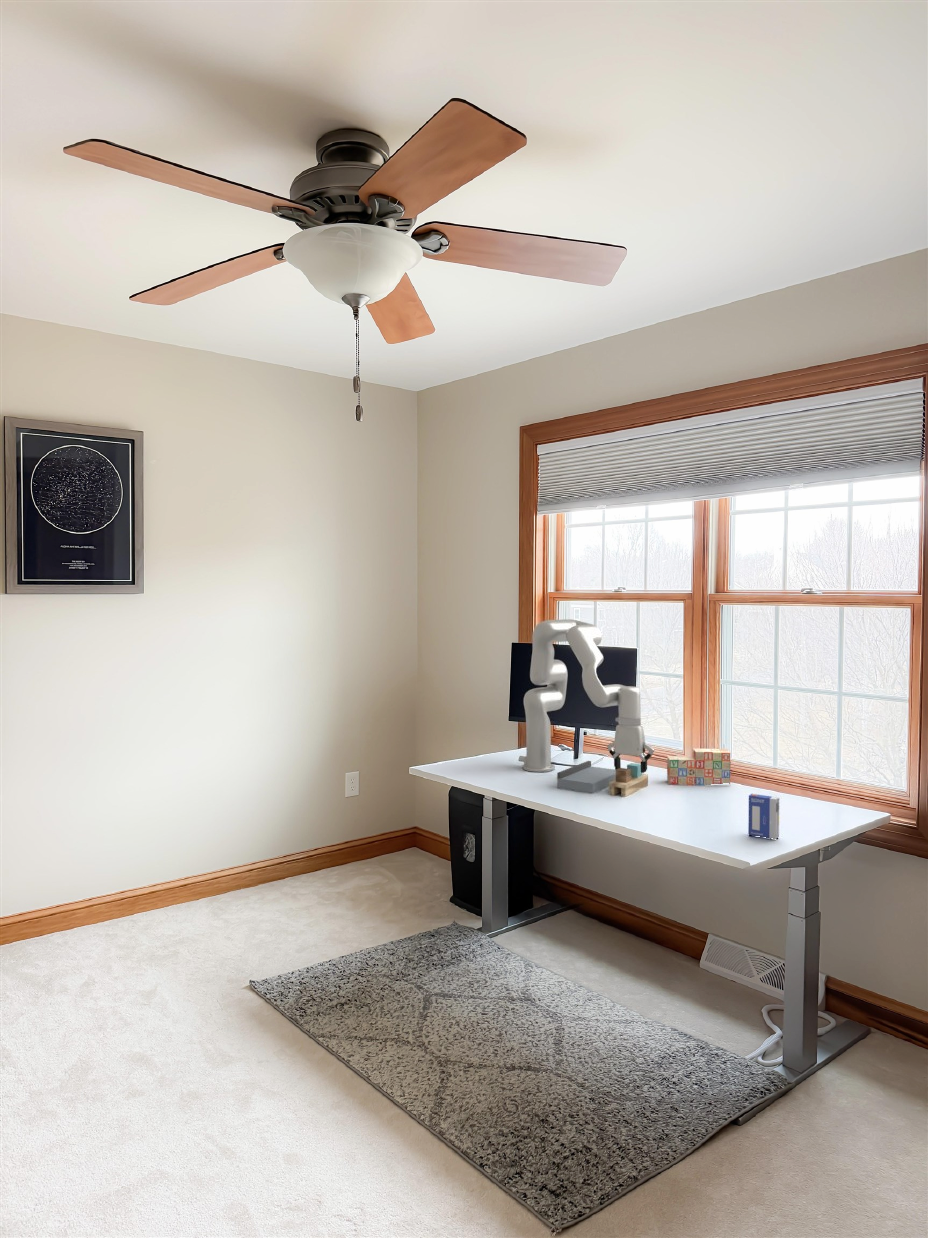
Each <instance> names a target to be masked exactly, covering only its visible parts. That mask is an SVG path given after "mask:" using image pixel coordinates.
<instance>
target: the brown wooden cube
mask: <svg viewBox="0 0 928 1238" xmlns="http://www.w3.org/2000/svg"><path fill="white" fill-rule="evenodd" d="M630 781H631V769H627V767H621V768H619V769H617V770H616V782H623V783H627V782H630Z"/></svg>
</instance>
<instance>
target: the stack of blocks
mask: <svg viewBox="0 0 928 1238" xmlns="http://www.w3.org/2000/svg"><path fill="white" fill-rule="evenodd" d="M691 752H692V753H691V755H692V756H677V755H675V756H674V755H667V758H666V759H667V760H666V761H667V762H666V763H667V764H666V777H667V778H666V781H667V782H668V785H670V786H671V785H673V786H675V785H676V786H705V785H711V784H723V783H729V784H730V785H731V766H732V763H731V762H732V761H731V752H730V751H729V750H728V749H724V748H723V749H720V748H692V751H691Z"/></svg>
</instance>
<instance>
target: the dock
mask: <svg viewBox="0 0 928 1238" xmlns="http://www.w3.org/2000/svg"><path fill="white" fill-rule="evenodd" d="M556 780H557V781H556V782H557V785H556V788H557V789H560V790H566V791H573V792H579V793H587V794H592V795H593V794H595V793H598V792H599V791H600V792H601V791H602V790H604V789H606V788H608V787H609V783H610V782H612V781H614V780H616V770H615V768H614V769H613V768H606V767H599V766H592V761H591V760H586V761H584V762H581V763H579V764H576V765H573V766H571V767H569V768H566V769H563V770H561V771H558V772H557V774H556Z"/></svg>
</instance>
